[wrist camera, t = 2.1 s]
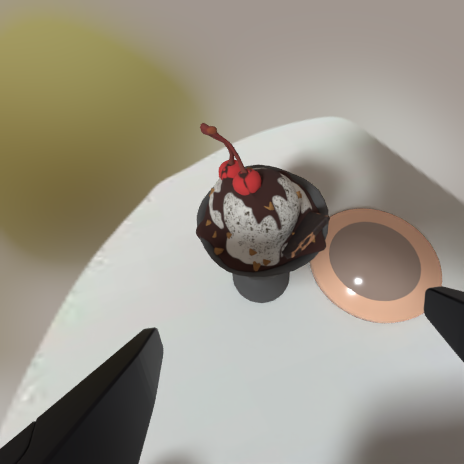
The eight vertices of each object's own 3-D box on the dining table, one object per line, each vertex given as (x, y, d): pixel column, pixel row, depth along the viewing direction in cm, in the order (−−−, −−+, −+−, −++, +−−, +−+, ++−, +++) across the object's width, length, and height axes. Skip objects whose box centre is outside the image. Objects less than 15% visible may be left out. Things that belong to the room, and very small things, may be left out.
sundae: (217, 249, 22) (156, 97, 9) (285, 234, 22) (322, 60, 9) (229, 321, 19) (163, 245, 6) (309, 304, 19) (416, 190, 6)
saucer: (460, 316, 18) (470, 314, 17) (326, 329, 18) (329, 328, 17) (403, 206, 22) (408, 201, 22) (298, 220, 23) (299, 215, 22)
